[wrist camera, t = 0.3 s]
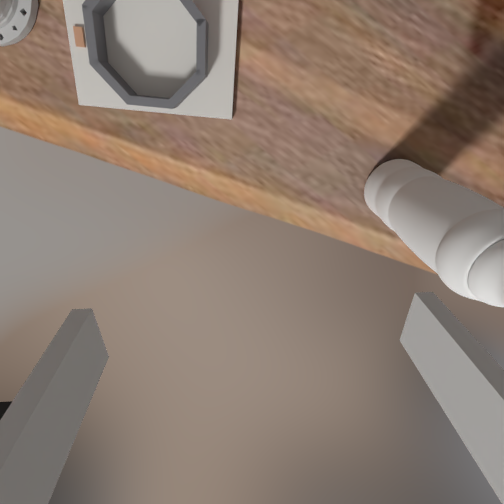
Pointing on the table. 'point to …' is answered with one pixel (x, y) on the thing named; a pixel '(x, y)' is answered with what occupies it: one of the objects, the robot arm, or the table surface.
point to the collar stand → (154, 54)
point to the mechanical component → (16, 20)
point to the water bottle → (443, 227)
